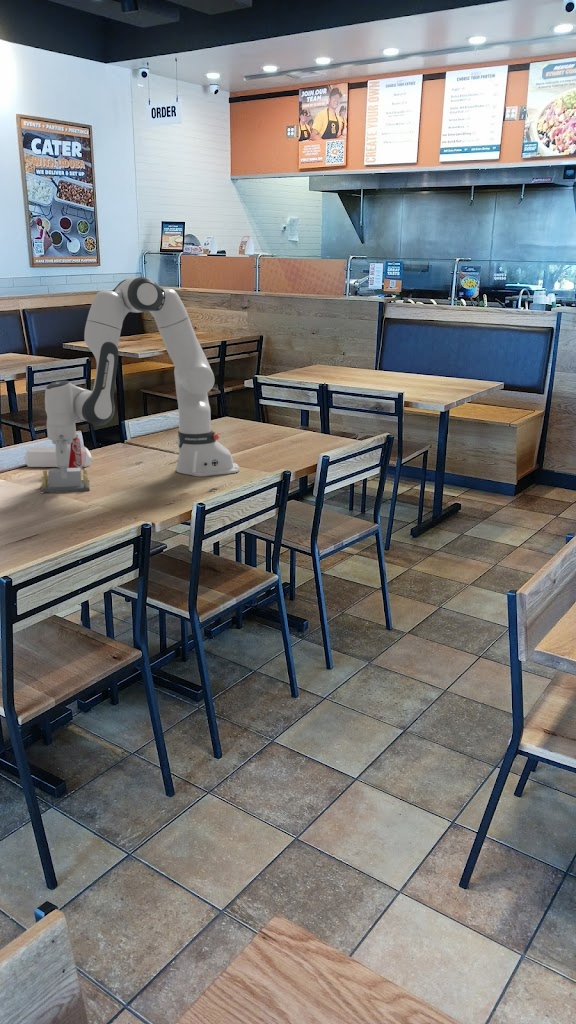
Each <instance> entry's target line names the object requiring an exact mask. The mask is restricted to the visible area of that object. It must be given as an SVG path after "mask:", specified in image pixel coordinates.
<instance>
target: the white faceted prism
mask: <svg viewBox="0 0 576 1024" xmlns="http://www.w3.org/2000/svg"><path fill="white" fill-rule="evenodd" d="M81 458H82V468H88V467H89V466H90V465H91V464H92V454H91V452H90V451H89V449H88V448H87V447H86V446H81ZM23 460H24V461H25V464H26V466H27V468H58V467H57V462H56V446H28V449H27V451H26V452H25V455H24V456H23Z"/></svg>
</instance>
